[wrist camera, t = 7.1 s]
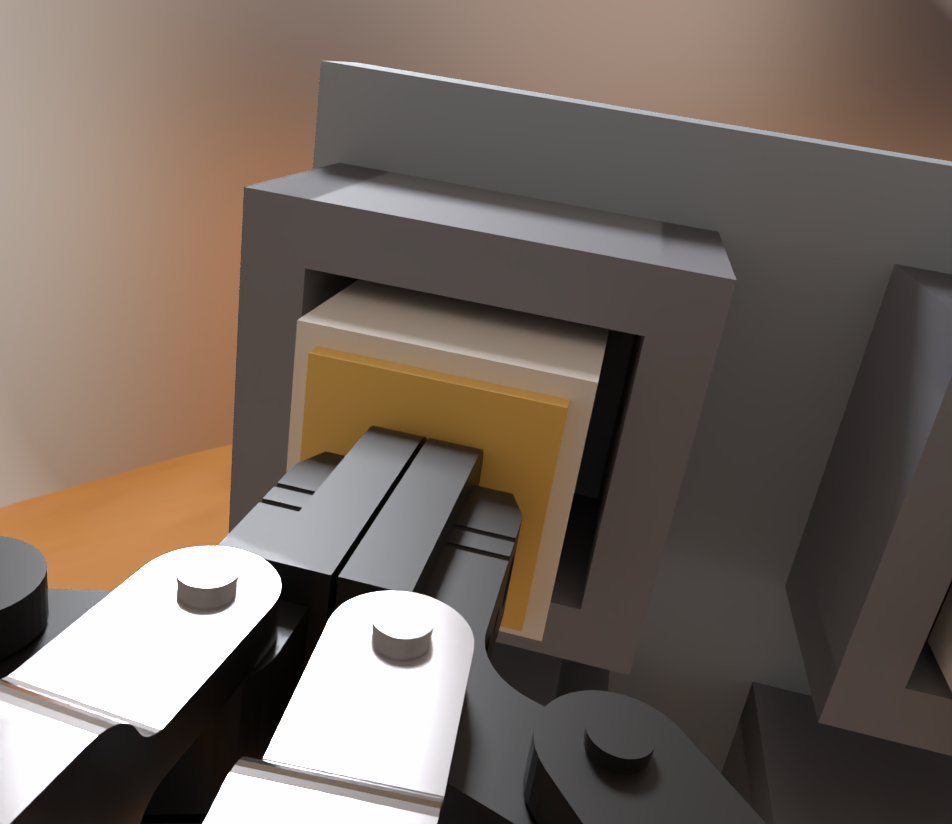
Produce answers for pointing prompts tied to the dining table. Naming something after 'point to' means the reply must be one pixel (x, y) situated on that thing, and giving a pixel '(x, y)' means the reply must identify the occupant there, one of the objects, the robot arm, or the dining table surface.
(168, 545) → the dining table surface
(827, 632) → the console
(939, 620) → the upper button
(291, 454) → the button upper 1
